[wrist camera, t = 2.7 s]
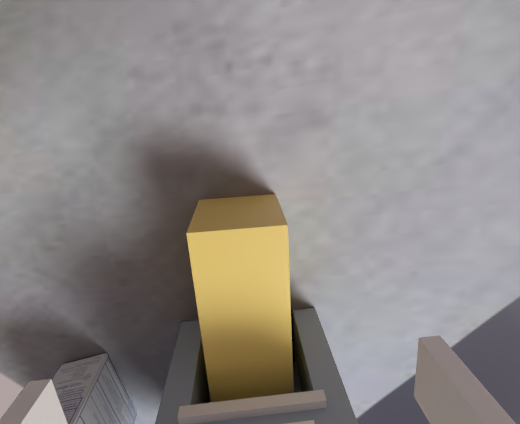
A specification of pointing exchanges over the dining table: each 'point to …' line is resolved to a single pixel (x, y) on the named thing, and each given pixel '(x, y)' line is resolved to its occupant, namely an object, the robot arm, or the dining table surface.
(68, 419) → the medicine box
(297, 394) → the tall grey box
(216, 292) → the mustard yellow carton
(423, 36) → the dining table surface
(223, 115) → the dining table surface
